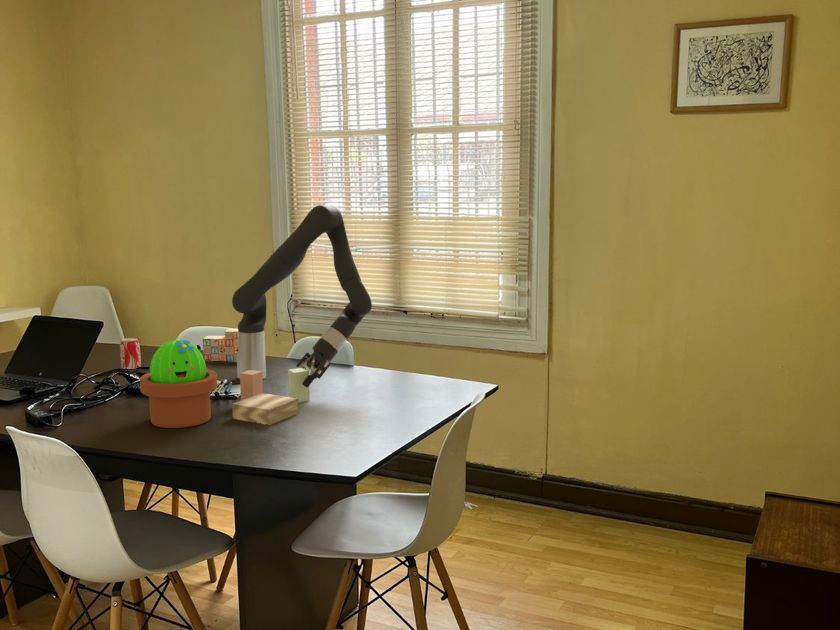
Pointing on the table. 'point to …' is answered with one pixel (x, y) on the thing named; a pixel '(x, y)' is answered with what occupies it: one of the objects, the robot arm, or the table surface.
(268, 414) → the birch plinth block
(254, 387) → the clay-red block
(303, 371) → the sage-green block
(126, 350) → the soda can
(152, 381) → the potted cactus
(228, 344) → the stack of blocks
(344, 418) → the table surface
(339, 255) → the robot arm
